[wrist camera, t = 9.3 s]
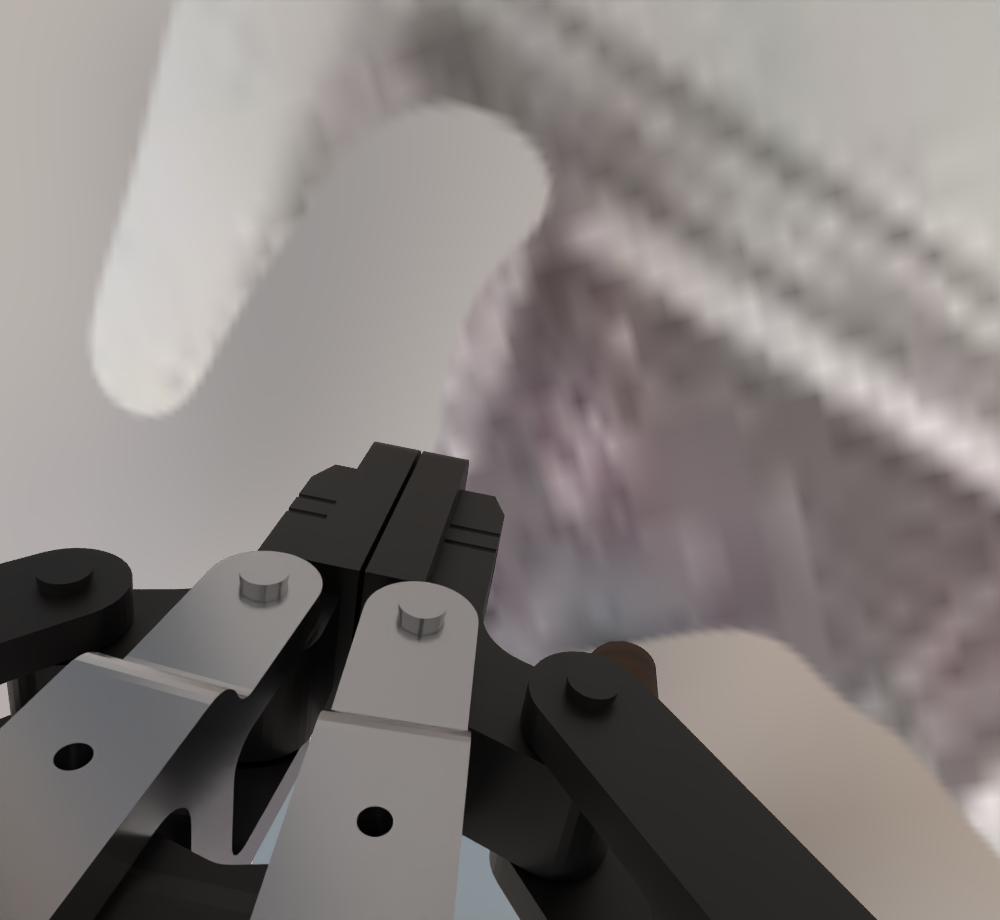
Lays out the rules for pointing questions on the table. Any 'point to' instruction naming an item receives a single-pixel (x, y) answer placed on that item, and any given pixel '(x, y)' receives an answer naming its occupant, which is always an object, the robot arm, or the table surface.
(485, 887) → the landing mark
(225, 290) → the table surface
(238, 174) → the table surface
